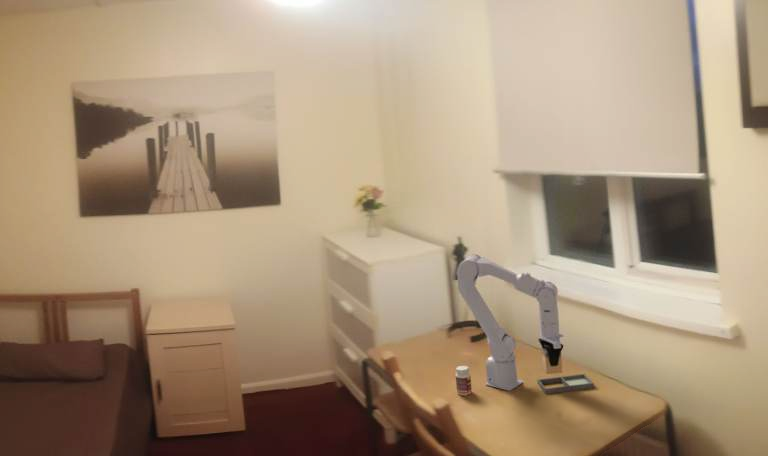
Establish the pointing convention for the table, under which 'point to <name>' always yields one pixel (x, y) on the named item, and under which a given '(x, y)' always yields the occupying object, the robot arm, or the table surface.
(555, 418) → the table surface
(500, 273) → the robot arm
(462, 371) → the pill bottle
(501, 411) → the table surface
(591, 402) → the table surface
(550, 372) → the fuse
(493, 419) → the table surface
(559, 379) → the gray divided rectangular frame
